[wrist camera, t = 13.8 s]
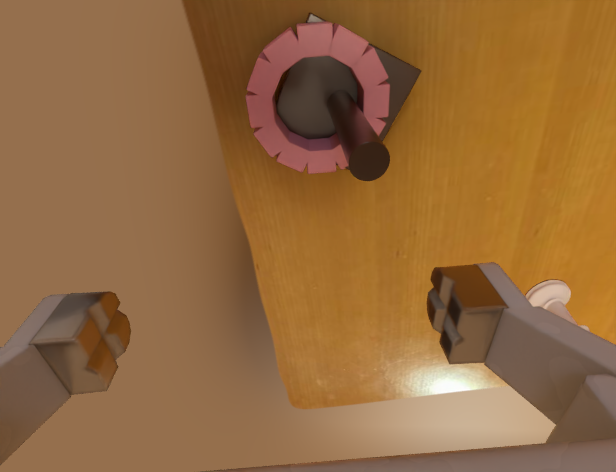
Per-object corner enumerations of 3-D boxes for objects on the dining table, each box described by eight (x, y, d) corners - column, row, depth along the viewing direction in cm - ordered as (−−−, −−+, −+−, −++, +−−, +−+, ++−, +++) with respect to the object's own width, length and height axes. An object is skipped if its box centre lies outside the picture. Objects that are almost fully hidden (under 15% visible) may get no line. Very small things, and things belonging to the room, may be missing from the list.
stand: (265, 129, 29) (249, 207, 18) (309, 12, 25) (324, 16, 14) (360, 169, 32) (399, 259, 20) (415, 67, 27) (505, 111, 16)
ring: (260, 164, 29) (258, 178, 27) (240, 28, 24) (235, 30, 22) (378, 155, 29) (385, 167, 27) (384, 16, 24) (394, 17, 22)
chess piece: (556, 311, 43) (622, 385, 34) (517, 311, 42) (573, 386, 34) (575, 279, 40) (651, 352, 31) (533, 279, 40) (598, 352, 31)
